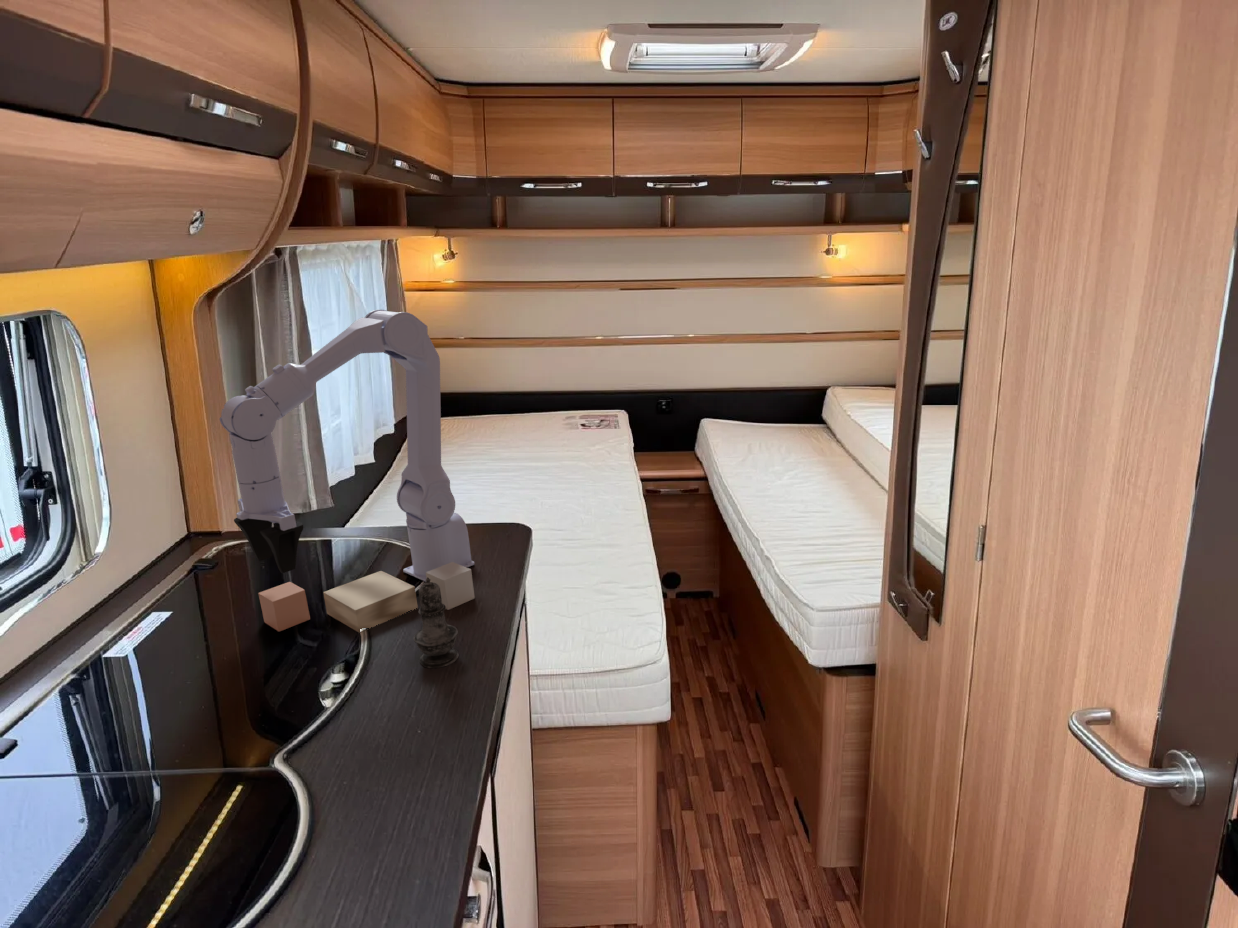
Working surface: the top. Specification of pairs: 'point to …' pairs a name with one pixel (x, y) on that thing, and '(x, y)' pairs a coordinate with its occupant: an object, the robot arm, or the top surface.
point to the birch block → (370, 600)
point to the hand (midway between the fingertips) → (276, 564)
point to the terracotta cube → (284, 606)
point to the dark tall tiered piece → (435, 629)
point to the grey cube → (453, 584)
